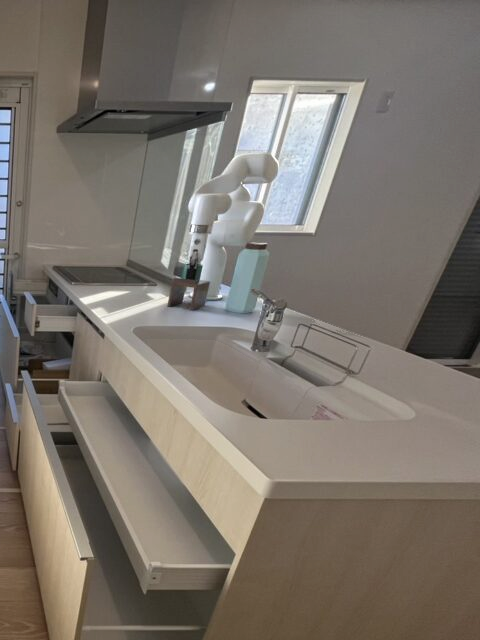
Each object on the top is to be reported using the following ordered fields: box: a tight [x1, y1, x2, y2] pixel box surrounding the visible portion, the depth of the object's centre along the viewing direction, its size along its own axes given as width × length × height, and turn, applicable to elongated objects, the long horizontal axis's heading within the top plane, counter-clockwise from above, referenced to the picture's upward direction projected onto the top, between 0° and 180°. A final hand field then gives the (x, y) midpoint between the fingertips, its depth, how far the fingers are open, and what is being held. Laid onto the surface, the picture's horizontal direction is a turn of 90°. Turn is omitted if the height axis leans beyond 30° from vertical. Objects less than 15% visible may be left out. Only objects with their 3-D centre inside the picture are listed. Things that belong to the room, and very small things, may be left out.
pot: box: [180, 262, 203, 283], centre depth 162 cm, size 7×7×6 cm
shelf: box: [166, 277, 210, 311], centre depth 165 cm, size 11×10×12 cm
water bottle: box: [225, 242, 270, 314], centre depth 155 cm, size 10×10×25 cm
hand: (190, 277), depth 162 cm, fingers closed on pot, 6 cm apart
